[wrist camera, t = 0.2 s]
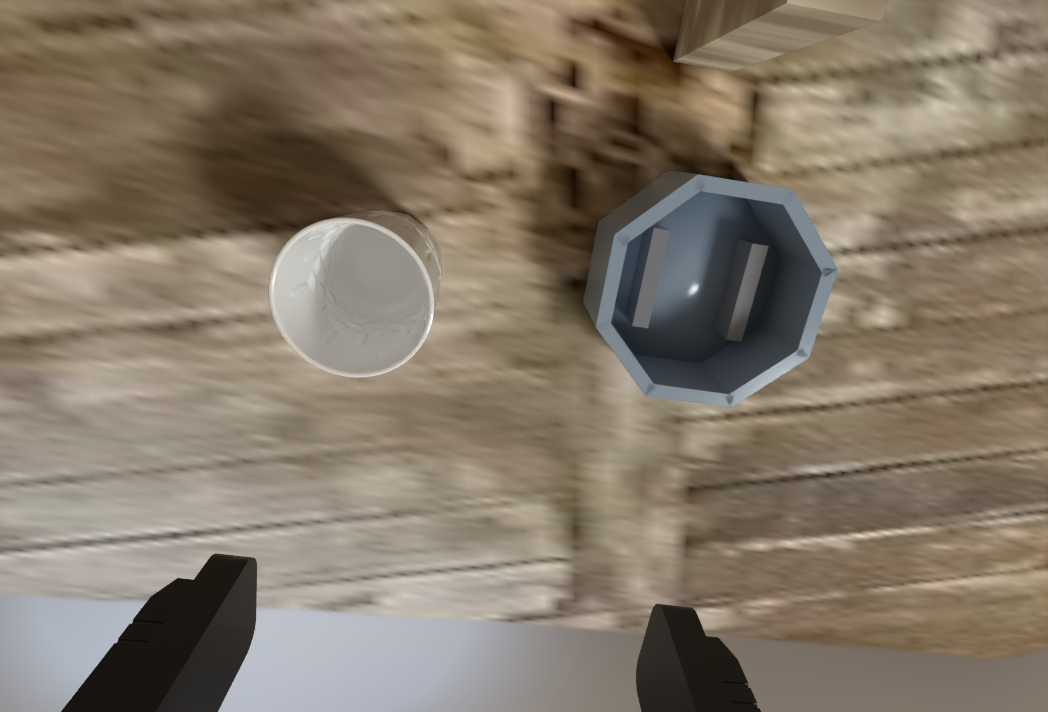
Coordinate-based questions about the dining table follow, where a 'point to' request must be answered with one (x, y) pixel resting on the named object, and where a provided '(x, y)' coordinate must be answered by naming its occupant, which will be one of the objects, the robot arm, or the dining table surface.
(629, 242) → the blue octagonal holder
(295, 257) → the white cup
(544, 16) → the dining table surface
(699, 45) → the tan square peg
